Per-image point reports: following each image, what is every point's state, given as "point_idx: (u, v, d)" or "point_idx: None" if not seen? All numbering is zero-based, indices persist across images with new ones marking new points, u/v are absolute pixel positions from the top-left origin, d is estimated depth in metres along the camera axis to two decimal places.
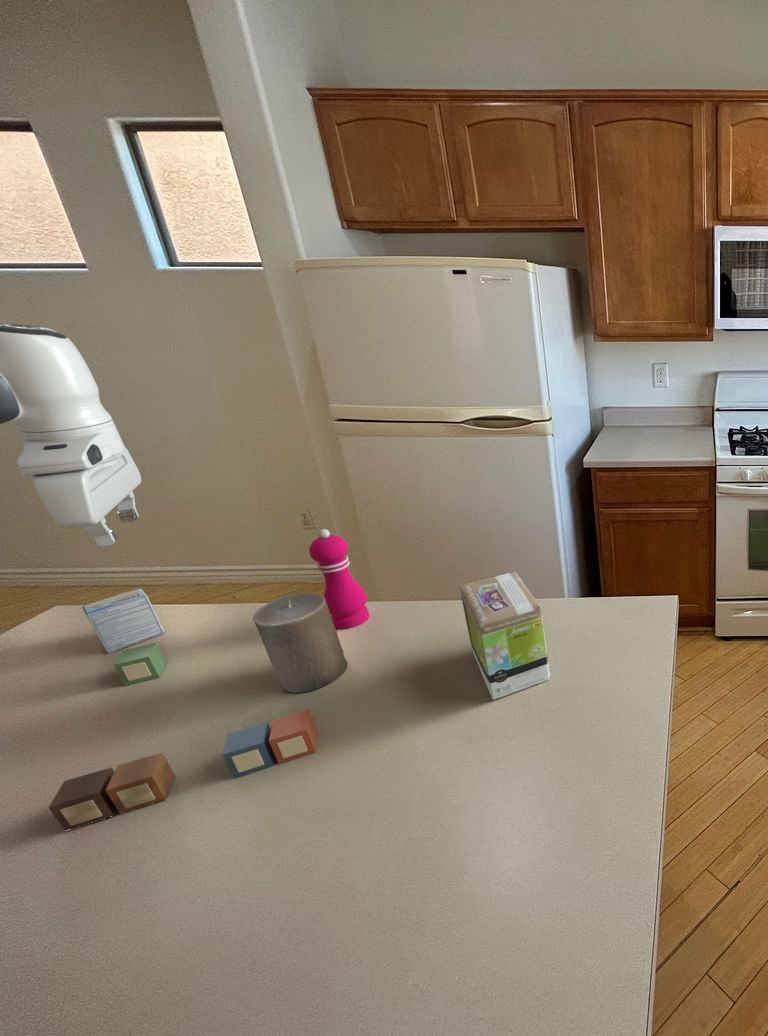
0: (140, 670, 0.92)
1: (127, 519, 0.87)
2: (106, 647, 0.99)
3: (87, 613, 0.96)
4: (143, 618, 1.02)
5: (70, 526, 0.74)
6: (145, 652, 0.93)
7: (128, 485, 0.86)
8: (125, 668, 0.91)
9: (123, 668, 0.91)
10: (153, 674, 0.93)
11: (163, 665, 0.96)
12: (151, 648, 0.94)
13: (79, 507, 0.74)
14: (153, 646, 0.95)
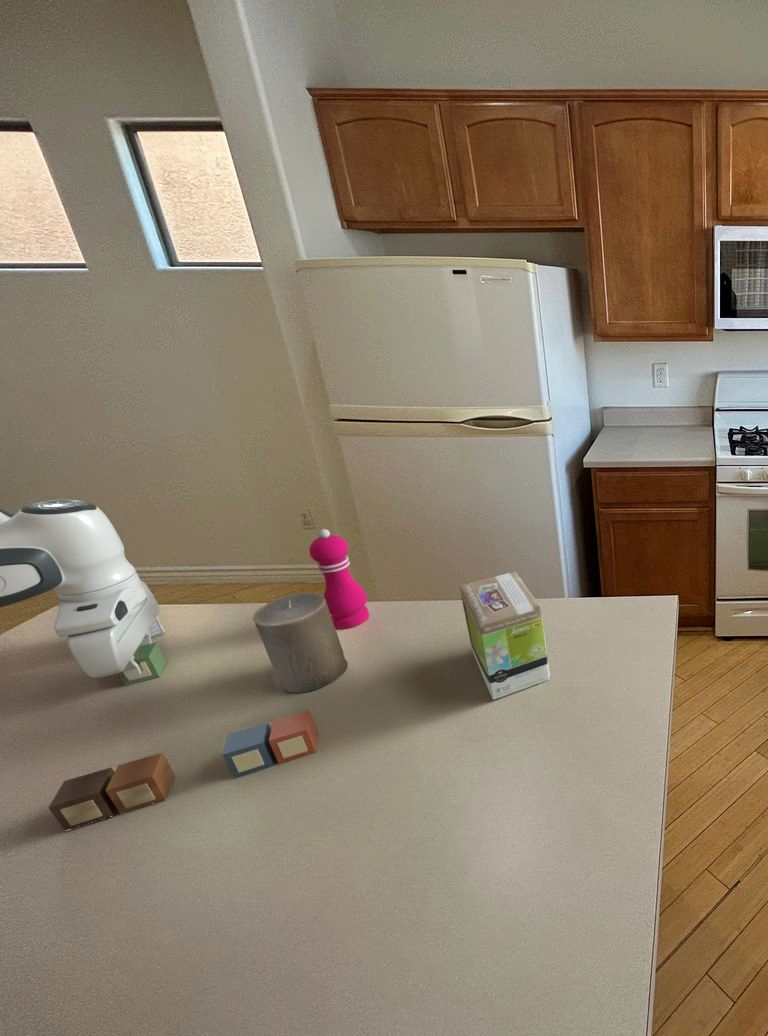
0: None
1: None
2: None
3: None
4: None
5: (100, 676, 0.84)
6: (145, 652, 0.93)
7: (148, 621, 0.95)
8: None
9: None
10: (153, 674, 0.93)
11: (163, 665, 0.96)
12: (151, 648, 0.94)
13: (108, 660, 0.83)
14: (153, 646, 0.95)
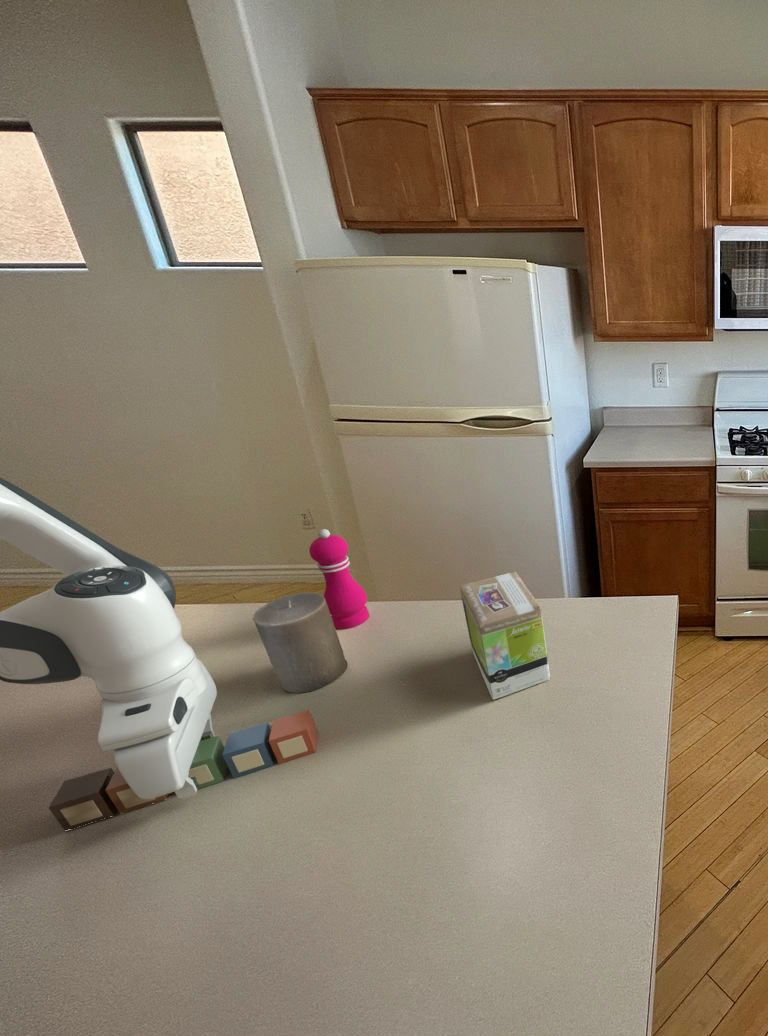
0: (201, 775, 0.73)
1: None
2: None
3: None
4: None
5: (154, 797, 0.65)
6: (206, 751, 0.74)
7: (206, 710, 0.76)
8: None
9: None
10: (216, 778, 0.75)
11: (226, 764, 0.77)
12: (213, 745, 0.75)
13: (165, 777, 0.64)
14: (214, 741, 0.76)
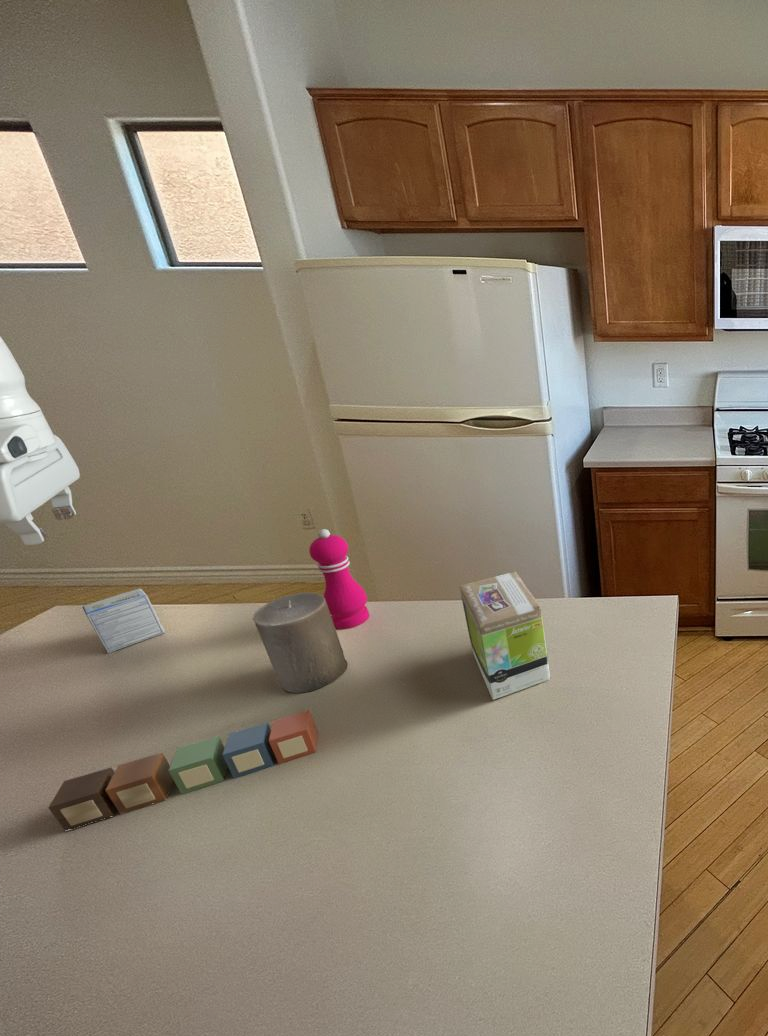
0: (201, 775, 0.73)
1: (63, 516, 0.82)
2: (106, 647, 0.99)
3: (87, 613, 0.96)
4: (143, 618, 1.02)
5: None
6: (206, 751, 0.74)
7: (62, 480, 0.81)
8: (183, 774, 0.72)
9: (180, 774, 0.72)
10: (216, 778, 0.75)
11: (226, 764, 0.77)
12: (213, 745, 0.75)
13: None
14: (214, 741, 0.76)
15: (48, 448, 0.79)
